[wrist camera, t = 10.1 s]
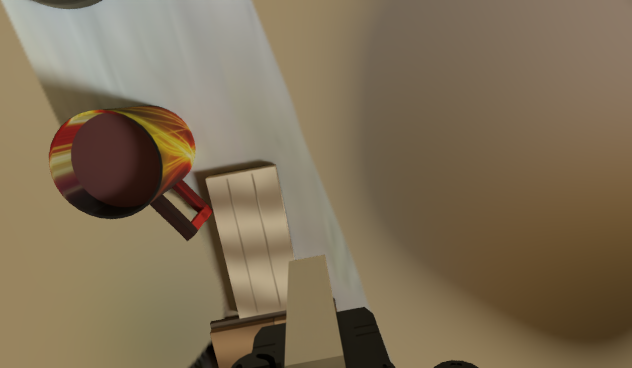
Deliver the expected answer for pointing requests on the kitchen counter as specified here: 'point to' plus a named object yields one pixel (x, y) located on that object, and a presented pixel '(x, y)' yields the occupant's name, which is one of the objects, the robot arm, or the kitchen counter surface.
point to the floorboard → (240, 335)
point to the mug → (127, 164)
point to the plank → (253, 237)
